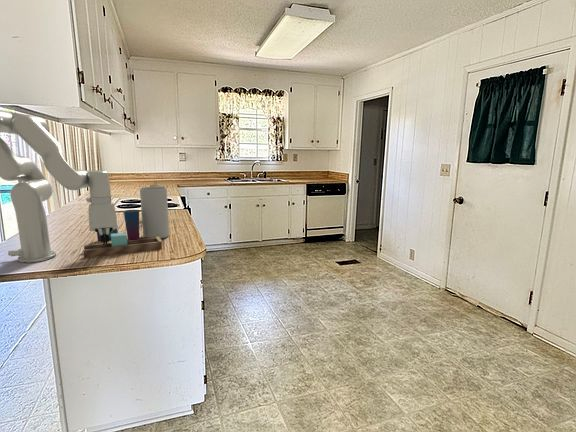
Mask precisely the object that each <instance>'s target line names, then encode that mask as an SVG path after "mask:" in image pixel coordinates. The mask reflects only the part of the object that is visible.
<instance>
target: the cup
mask: <svg viewBox="0 0 576 432" xmlns="http://www.w3.org/2000/svg"><path fill="white" fill-rule="evenodd" d="M123 217H124V223H125V230H126V234H127V241H131V240H140V210H139V209H126V210H123Z"/></svg>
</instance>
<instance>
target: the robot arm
mask: <svg viewBox="0 0 576 432" xmlns="http://www.w3.org/2000/svg"><path fill="white" fill-rule="evenodd" d="M49 130H50V127H49V125H48V123H47V121H46V120H45V119H43V118H42V117H40V116H38V115H37V116H36V115H32V114H31V115H30V114H23V113H19V112H12V111H9V110H2V109H0V133H7V134H11V135H12V134H13V135H18V136H19V137H20V138H21V139H22V140H23V141H24V142H25V143H26V144H27V145H28V146H29V148H31V149H32V150H33V151H34V152H35V153H36V155H38V156H39V157H40V159H41V161H42V164H43V165H44V167H45V169H46V170H47V171H48V173H49V174H50V176H51V177H52V178H54V179H55V180H56V182H58V183H59V184H60V185H61V186H62V187H63V188H65V189H67V190H69V191H77V190H80V189H85V188H89V197H88V198H86V202H87V203H88V202H89V203H90V204H89V205H88V225H89V229H88V230H89V231H90V232H96V234H97V233H99V234H100V236H101V241H100V242H101V243H103V244H105V243H106V244H107V243H108V242H110V240H109V235H108V234H109V233H110V232H111V231H112V230H114V229H117V230H118V228H119V226H118V218H117V212H116V208H115V203H114V202H112V194H111V181H110V174H109V172H108V171H107V170H97V169H96V170H86V169H76V170H75V169H74V168H73V167H71V165H70V164H69V163H68V162H67V161H66V160H65V158H64V156H63V155H62V145H61V144H60V142H59V141H58V140H56V138H54V136H53V135H52V134H51V133H50V132H49ZM0 178H1V179H2V180H4V181H8V182H13V181H18V182H17V183H16V184H15V185H13V187H12V188H11V189H10V193H9V194H10V195H9V196H10V199H11V202H12V205H13V207H14V208H13V209H14V212H15V217H16V223H17V230H18V235H19V244H20V248H19V249H17V250H14V249H13V250H7V251H8V252H7V255H8V256H10V257H17V256H18V257H17V261H18V262H19V261H20V262H19V263H24V262H26V263H39V262H44V261H49V260H50V259H53V258H55V257H56V255H57V253H56V252H55V251H54V250H52V249H51V242H50V234H49V233H50V232H49V228H48V227H49V226H48V218H47V214H46V209H45V207H44V205H43V202H45V201H48V200H49V199H50V198H51V196H52V195H53V193H54V191H53V190H54V189H53V187H52V185H51V183H50V181H49V180H48V179H47V177H46V176H45V175H44V173H43V172H42V171H41V169H40V168H39V166H38V165H37V163H35V162H34V160H32V159H31V158H29V157H27V156H24V155H16V154H15V153H14V152H13V151H12V149H11V148H10V146H9V145H8V144H7V142H6V141H5V140H4V139H2V138H1V137H0ZM102 228H106V232H105V236H104V232H103V231H102Z"/></svg>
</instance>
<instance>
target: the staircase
mask: <svg viewBox="0 0 576 432" xmlns="http://www.w3.org/2000/svg"><path fill="white" fill-rule="evenodd" d="M153 182H154V183H153V184H149V187H165V185H163V184H162V185H161V184H159V183H157V181H156V179H154V180H153Z"/></svg>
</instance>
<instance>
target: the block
mask: <svg viewBox="0 0 576 432" xmlns="http://www.w3.org/2000/svg"><path fill="white" fill-rule="evenodd" d="M127 241H128V237H127V232H118V233H115V234H111V240H110V243H112V247H114V246H123V245H128V244H127Z"/></svg>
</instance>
